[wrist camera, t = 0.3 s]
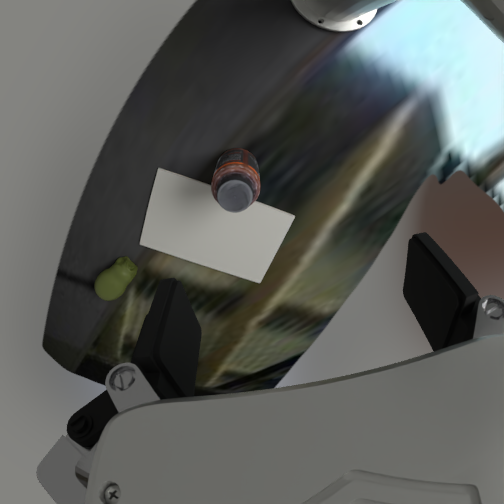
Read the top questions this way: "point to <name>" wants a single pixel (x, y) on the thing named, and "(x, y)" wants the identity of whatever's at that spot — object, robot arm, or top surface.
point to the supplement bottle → (236, 180)
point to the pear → (115, 279)
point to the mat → (211, 228)
